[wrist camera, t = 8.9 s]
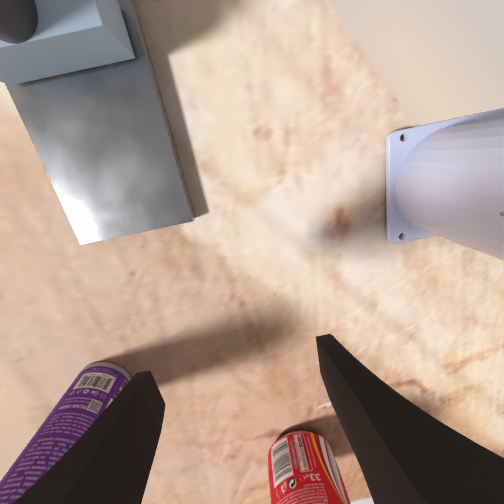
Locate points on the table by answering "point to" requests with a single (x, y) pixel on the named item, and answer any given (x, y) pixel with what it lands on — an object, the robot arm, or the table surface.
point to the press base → (107, 144)
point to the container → (64, 426)
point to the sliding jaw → (59, 37)
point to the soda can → (304, 471)
